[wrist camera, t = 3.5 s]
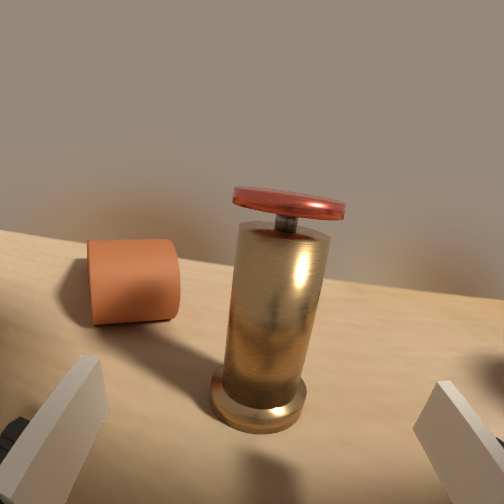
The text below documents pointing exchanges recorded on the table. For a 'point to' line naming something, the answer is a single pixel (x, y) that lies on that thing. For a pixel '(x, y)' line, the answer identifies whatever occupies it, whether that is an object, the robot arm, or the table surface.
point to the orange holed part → (133, 280)
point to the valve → (271, 310)
